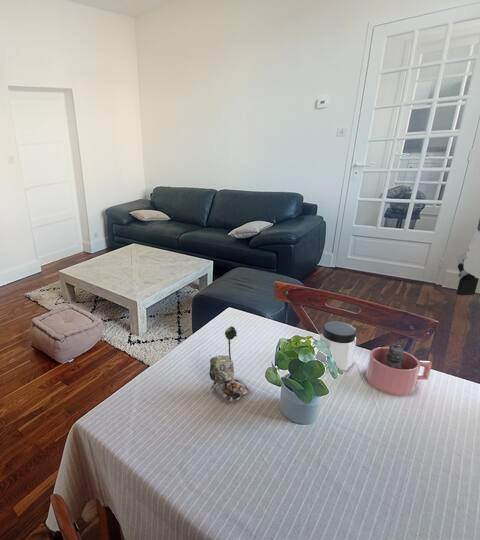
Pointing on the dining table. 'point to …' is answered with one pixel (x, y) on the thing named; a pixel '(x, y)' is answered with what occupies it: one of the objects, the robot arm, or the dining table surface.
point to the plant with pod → (226, 372)
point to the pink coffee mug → (395, 372)
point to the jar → (339, 343)
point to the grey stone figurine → (394, 356)
